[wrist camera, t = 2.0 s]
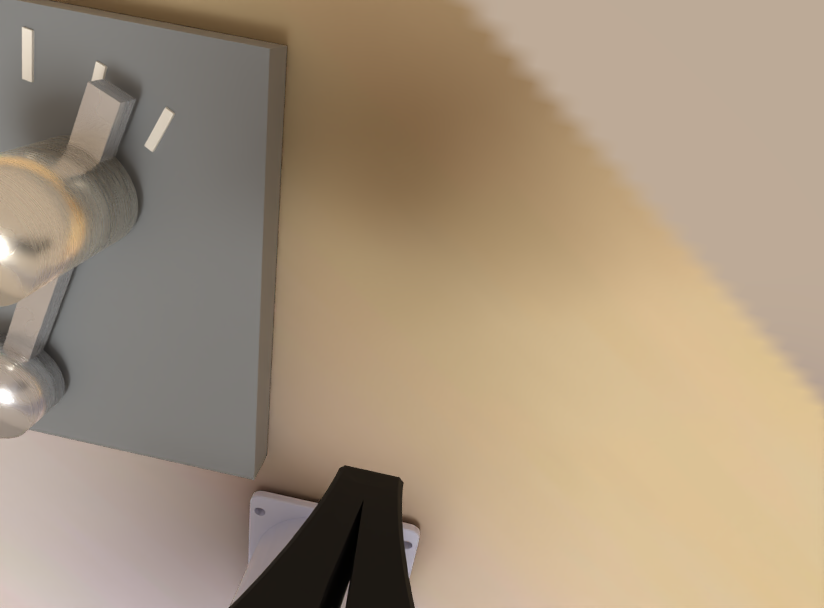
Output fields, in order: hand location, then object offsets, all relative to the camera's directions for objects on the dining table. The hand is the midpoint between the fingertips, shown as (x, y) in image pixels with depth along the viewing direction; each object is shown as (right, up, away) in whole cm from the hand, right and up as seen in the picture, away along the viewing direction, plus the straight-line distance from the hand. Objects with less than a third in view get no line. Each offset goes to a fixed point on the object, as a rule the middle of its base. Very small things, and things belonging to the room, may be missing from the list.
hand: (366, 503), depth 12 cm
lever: (-11, +6, +7) cm, 15 cm away
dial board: (-13, +7, +9) cm, 18 cm away
